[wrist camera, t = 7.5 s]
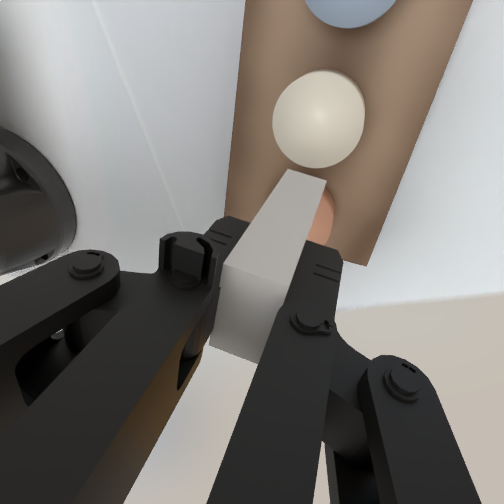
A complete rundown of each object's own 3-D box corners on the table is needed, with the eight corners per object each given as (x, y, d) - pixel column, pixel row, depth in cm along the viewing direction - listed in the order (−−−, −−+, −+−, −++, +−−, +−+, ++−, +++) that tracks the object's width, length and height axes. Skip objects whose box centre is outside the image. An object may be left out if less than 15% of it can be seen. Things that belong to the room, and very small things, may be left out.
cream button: (275, 146, 23) (265, 157, 21) (290, 61, 20) (280, 65, 18) (350, 163, 22) (348, 176, 20) (377, 77, 19) (377, 83, 17)
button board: (234, 212, 32) (222, 227, 29) (298, -327, 16) (285, -392, 13) (366, 247, 30) (366, 266, 27) (589, -328, 14) (634, -405, 12)
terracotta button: (263, 229, 28) (254, 245, 26) (274, 170, 25) (265, 182, 23) (325, 245, 27) (321, 263, 25) (343, 186, 24) (340, 201, 22)
